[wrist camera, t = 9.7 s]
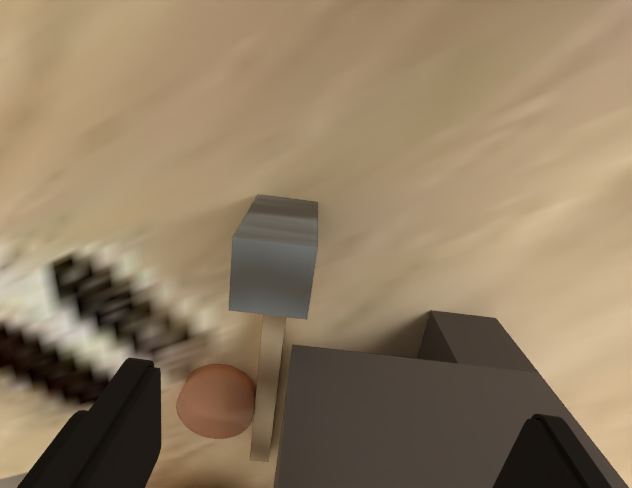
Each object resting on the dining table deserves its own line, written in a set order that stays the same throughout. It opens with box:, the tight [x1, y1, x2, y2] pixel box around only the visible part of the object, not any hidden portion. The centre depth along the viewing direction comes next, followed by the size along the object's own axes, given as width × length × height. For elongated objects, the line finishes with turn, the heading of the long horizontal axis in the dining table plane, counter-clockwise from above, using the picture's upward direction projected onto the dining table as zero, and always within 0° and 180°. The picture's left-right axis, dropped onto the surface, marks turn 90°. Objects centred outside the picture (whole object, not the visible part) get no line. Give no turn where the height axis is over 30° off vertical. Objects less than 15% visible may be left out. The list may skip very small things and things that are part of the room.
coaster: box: [176, 364, 256, 439], centre depth 31 cm, size 6×6×2 cm
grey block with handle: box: [229, 195, 318, 462], centre depth 26 cm, size 23×4×8 cm, turn 172°
